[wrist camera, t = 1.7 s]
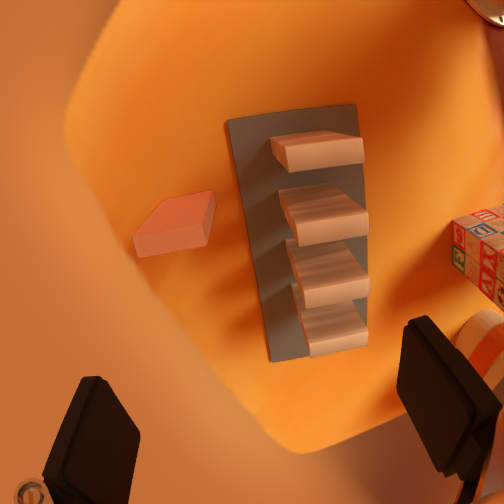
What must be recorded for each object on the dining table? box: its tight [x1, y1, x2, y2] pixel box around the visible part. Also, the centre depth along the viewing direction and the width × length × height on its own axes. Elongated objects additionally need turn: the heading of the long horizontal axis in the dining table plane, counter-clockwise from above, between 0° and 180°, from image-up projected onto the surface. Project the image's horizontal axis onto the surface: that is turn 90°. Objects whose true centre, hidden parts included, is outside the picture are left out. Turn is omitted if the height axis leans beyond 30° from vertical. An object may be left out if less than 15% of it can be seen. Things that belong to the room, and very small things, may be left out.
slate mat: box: [227, 104, 367, 363], centre depth 33 cm, size 28×12×1 cm, turn 10°
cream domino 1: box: [270, 130, 365, 173], centre depth 24 cm, size 2×5×10 cm, turn 100°
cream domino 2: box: [278, 182, 369, 247], centre depth 26 cm, size 2×5×10 cm, turn 100°
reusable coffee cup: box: [455, 309, 504, 407], centre depth 33 cm, size 12×13×15 cm
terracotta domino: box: [132, 190, 216, 258], centre depth 26 cm, size 2×5×10 cm, turn 99°
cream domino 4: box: [291, 282, 368, 358], centre depth 30 cm, size 2×5×10 cm, turn 100°
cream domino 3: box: [285, 238, 370, 309], centre depth 28 cm, size 2×5×10 cm, turn 100°
